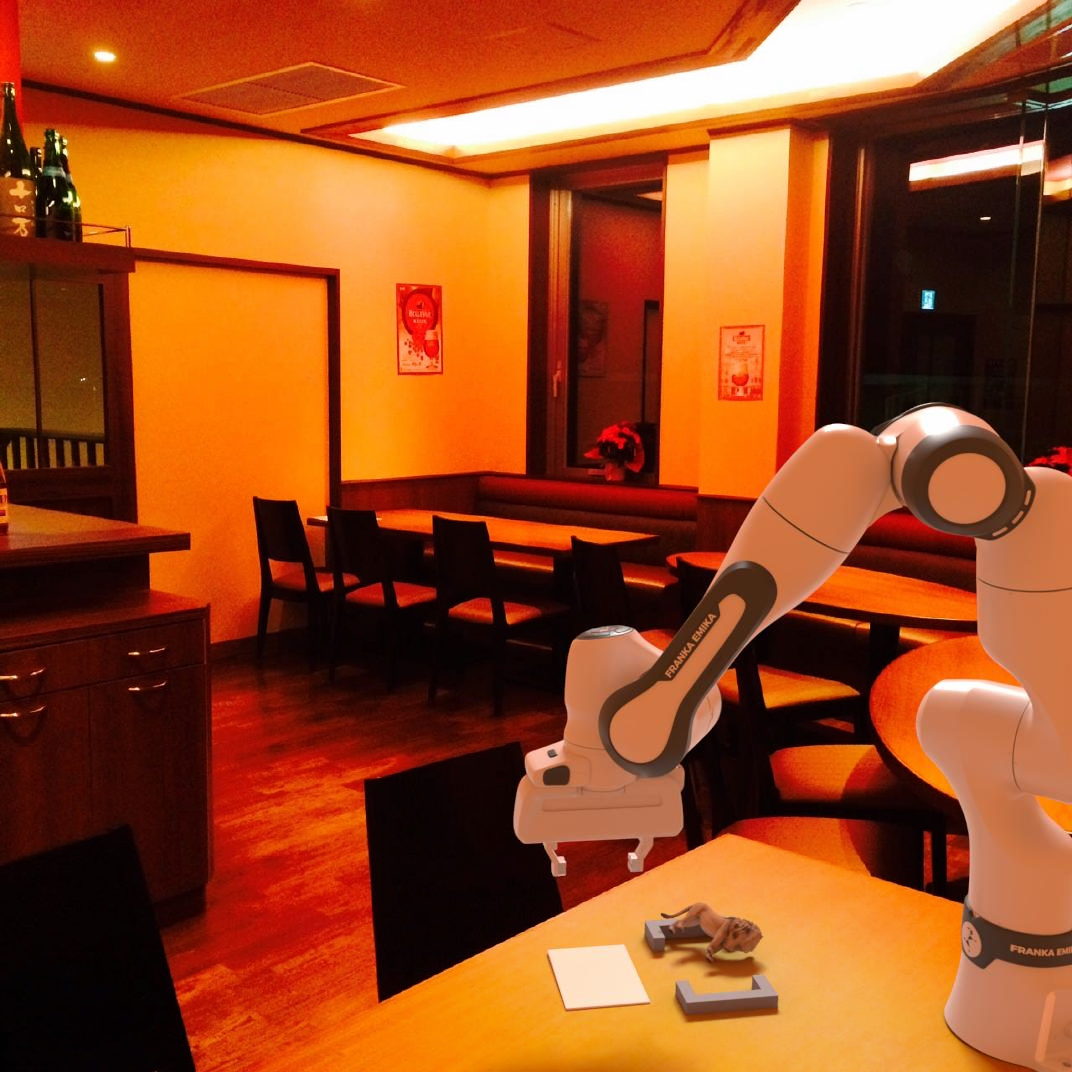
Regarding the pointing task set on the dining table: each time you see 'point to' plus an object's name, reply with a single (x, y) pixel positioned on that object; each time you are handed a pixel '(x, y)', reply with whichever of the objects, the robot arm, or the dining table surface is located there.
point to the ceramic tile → (596, 977)
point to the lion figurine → (718, 929)
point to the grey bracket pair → (711, 1002)
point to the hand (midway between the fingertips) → (597, 871)
